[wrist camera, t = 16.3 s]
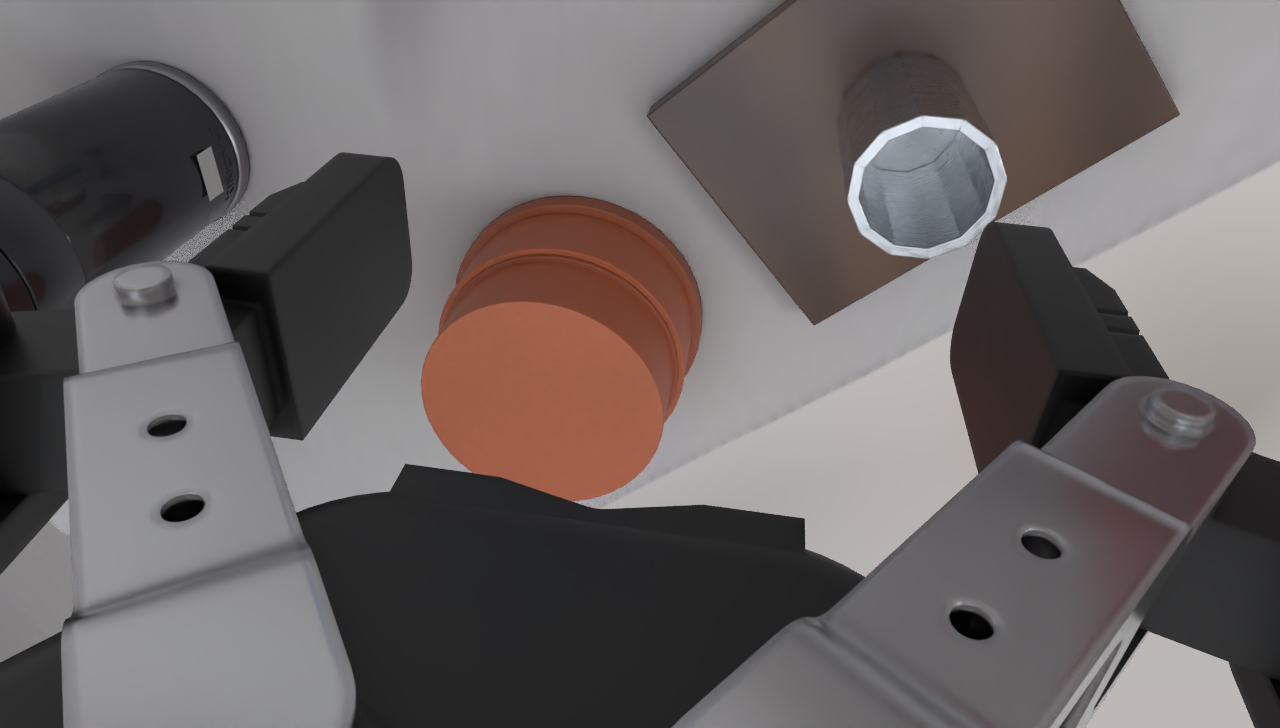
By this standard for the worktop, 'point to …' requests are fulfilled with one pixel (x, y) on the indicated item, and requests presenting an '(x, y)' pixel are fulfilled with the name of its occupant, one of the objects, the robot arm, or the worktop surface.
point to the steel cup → (918, 158)
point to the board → (830, 64)
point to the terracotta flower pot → (563, 347)
